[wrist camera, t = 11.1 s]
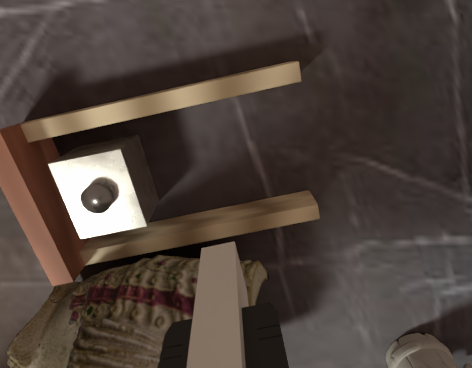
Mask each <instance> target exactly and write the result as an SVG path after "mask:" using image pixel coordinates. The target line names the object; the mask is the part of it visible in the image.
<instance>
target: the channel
mask: <svg viewBox="0 0 472 368" xmlns="http://www.w3.org/2000/svg"><path fill="white" fill-rule="evenodd" d="M296 82H301V74H300V67H299V61H289V62H285V63H281V64H276V65H272V66H267V67H263V68H259V69H254V70H250V71H246V72H241V73H237V74H232V75H228V76H224V77H219V78H215V79H210V80H206V81H202V82H197V83H193V84H189V85H184V86H180V87H175V88H171V89H167V90H162V91H158V92H154V93H149V94H145V95H140V96H136V97H132V98H127V99H123V100H118V101H114V102H110V103H105V104H101V105H97V106H92V107H88V108H83V109H79V110H75V111H70V112H66V113H62V114H57V115H53V116H48V117H44V118H40V119H35V120H31V121H26V122H22V123H19V124H16V125H12V126H9V127H6V128H3V129H0V187H1V189H2V190H3V192H4V194H5V196H6V198H7V200H8V202H9V204H10V206H11V208H12V210H13V211H14V213H15V215H16V217H17V219H18V221H19V223H20V225H21V227H22V229H23V231H24V233H25V234H26V236H27V238H28V240H29V242H30V244H31V246H32V248H33V250H34V252H35V254H36V255H37V257H38V259H39V261H40V263H41V265H42V267H43V269H44V271H45V273H46V275H47V276H48V278H49V280H50V282H51V284H52V286H56V285H61V284H66V283H71V282H74V281H75V279H76V278H77V276H78V275H79V273H80V272H81V271H82V269H83V268H84V266H85V265H90V264H95V263H100V262H105V261H110V260H115V259H120V258H125V257H130V256H135V255H140V254H145V253H150V252H155V251H160V250H165V249H170V248H175V247H180V246H185V245H190V244H195V243H200V242H205V241H210V240H215V239H221V238H226V237H231V236H236V235H241V234H246V233H251V232H256V231H261V230H266V229H271V228H276V227H281V226H286V225H291V224H296V223H301V222H306V221H311V220H316V219H320V216H319V209H318V204H317V202H316V201H315V199H314V197H313V196H312V194H311V192H310V191H309V190H306V191H301V192H297V193H292V194H287V195H282V196H277V197H272V198H267V199H262V200H257V201H252V202H248V203H243V204H238V205H233V206H228V207H223V208H218V209H213V210H208V211H203V212H199V213H194V214H189V215H184V216H179V217H174V218H169V219H164V220H159V221H154V222H150V223H148V225H147V226H146V227H141V228H135V229H130V230H125V231H119V232H114V233H109V234H104V235H98V236H93V237H88V238H82V239H80V237H79V234H78V232H77V230H76V227H75V225H74V223H73V220H72V218H71V216H70V214H69V211H68V209H67V207H66V204H65V202H64V200H63V198H62V195H61V193H60V191H59V188H58V186H57V184H56V182H55V179H54V177H53V175H52V172H51V170H50V168H49V166H48V164H49V163H51V162H52V161H54V160H56V159H57V158H59V157H60V155H59V153H58V151H57V148H56V146H55V144H54V141H53V139H52V137H55V136H60V135H64V134H69V133H73V132H78V131H82V130H86V129H91V128H95V127H100V126H104V125H109V124H113V123H118V122H122V121H127V120H131V119H135V118H140V117H144V116H149V115H153V114H158V113H162V112H167V111H171V110H176V109H180V108H185V107H189V106H193V105H198V104H202V103H207V102H211V101H216V100H220V99H225V98H229V97H234V96H238V95H243V94H247V93H251V92H256V91H260V90H265V89H269V88H274V87H278V86H283V85H287V84H292V83H296Z"/></svg>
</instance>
